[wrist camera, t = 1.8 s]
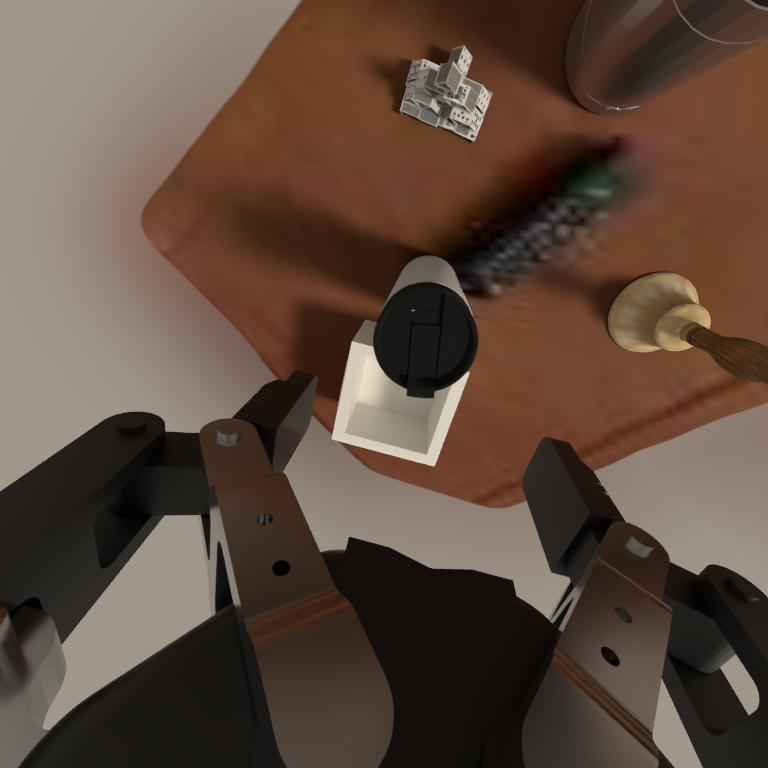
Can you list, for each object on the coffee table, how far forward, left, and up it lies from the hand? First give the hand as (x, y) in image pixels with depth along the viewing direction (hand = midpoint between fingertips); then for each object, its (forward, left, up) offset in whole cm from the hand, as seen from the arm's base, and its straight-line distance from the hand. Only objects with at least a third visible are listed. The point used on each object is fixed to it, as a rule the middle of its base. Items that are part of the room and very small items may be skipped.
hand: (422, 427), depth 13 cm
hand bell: (-3, +23, -29) cm, 37 cm away
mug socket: (+11, 0, -29) cm, 31 cm away
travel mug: (0, 0, -29) cm, 29 cm away
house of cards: (-18, -2, -30) cm, 34 cm away
